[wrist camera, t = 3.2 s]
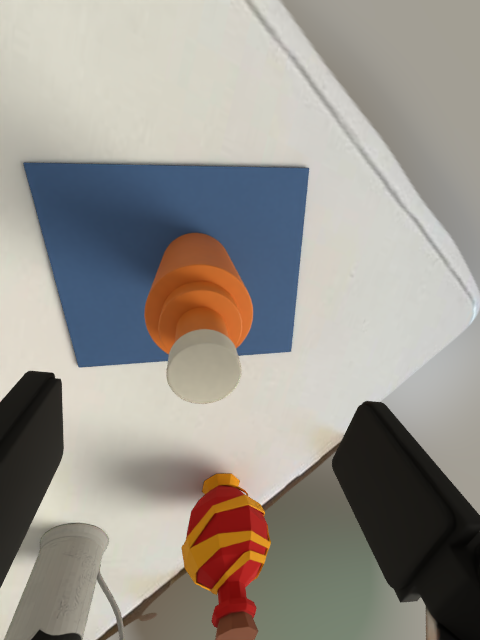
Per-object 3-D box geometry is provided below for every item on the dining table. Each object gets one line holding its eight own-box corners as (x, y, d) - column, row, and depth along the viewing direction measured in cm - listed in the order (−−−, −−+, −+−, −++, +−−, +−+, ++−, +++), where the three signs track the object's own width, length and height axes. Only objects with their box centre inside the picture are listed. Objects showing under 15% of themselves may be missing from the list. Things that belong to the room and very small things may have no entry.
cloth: (79, 365, 29) (78, 367, 29) (25, 162, 22) (22, 162, 21) (290, 350, 32) (291, 351, 32) (307, 168, 25) (309, 168, 24)
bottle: (158, 294, 27) (118, 429, 12) (165, 225, 25) (128, 291, 10) (223, 303, 28) (259, 435, 14) (236, 240, 26) (298, 316, 11)
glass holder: (60, 516, 38) (-11, 699, 24) (153, 543, 43) (137, 704, 30) (28, 552, 40) (-55, 740, 26) (121, 573, 45) (92, 738, 32)
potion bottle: (207, 450, 37) (218, 603, 23) (271, 472, 41) (311, 614, 27) (168, 501, 40) (156, 663, 26) (230, 517, 43) (249, 666, 30)
